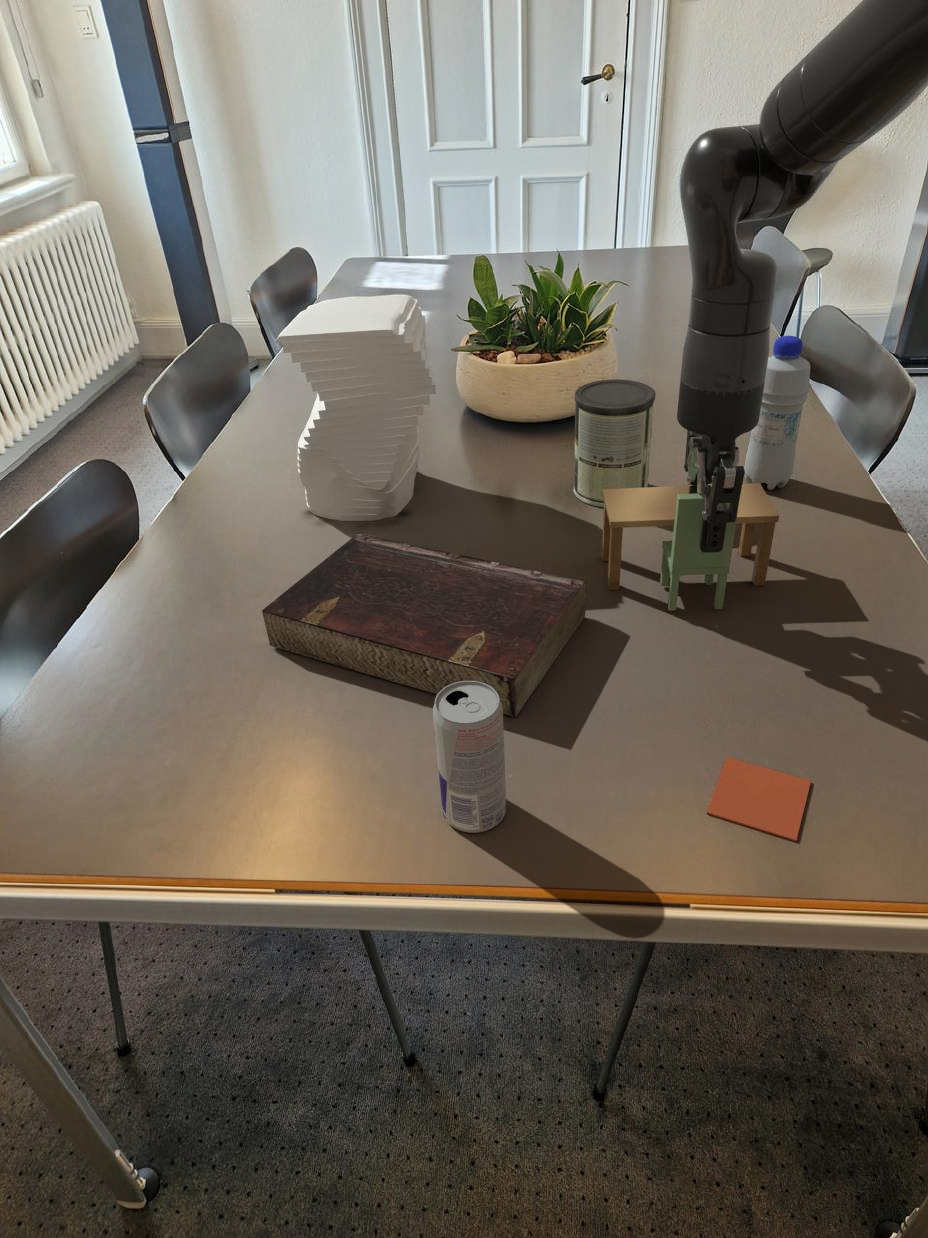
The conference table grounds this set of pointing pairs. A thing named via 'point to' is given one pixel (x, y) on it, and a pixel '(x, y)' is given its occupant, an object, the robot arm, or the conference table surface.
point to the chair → (694, 551)
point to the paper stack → (361, 403)
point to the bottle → (779, 415)
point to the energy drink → (470, 755)
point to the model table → (660, 511)
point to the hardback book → (429, 617)
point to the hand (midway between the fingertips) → (703, 533)
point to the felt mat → (760, 798)
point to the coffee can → (611, 437)
